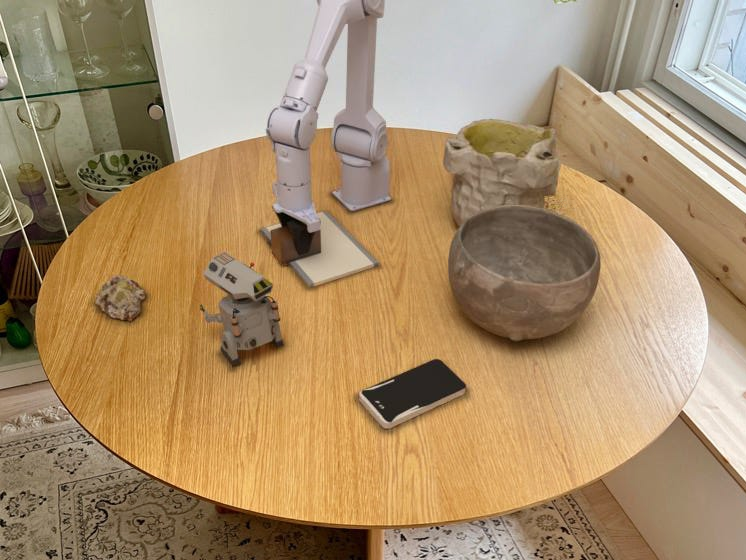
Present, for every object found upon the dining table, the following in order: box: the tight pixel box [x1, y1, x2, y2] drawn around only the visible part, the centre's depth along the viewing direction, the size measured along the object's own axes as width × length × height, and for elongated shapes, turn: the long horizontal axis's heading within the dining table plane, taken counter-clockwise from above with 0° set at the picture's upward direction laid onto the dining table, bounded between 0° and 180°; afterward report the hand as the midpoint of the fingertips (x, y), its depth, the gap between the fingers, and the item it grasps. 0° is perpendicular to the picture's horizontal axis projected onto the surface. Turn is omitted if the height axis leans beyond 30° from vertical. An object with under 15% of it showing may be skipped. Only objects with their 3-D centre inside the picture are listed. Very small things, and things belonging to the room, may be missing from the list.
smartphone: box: [358, 358, 467, 430], centre depth 112 cm, size 8×1×15 cm
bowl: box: [447, 205, 602, 342], centre depth 122 cm, size 24×24×15 cm
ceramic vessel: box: [442, 118, 562, 228], centre depth 141 cm, size 23×24×25 cm
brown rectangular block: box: [270, 225, 321, 266], centre depth 135 cm, size 8×4×5 cm, turn 121°
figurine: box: [199, 251, 284, 367], centre depth 115 cm, size 9×12×15 cm
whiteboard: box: [260, 209, 379, 289], centre depth 139 cm, size 14×20×1 cm
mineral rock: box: [94, 274, 147, 322], centre depth 125 cm, size 11×4×8 cm
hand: (297, 246), depth 136 cm, fingers closed on brown rectangular block, 4 cm apart
